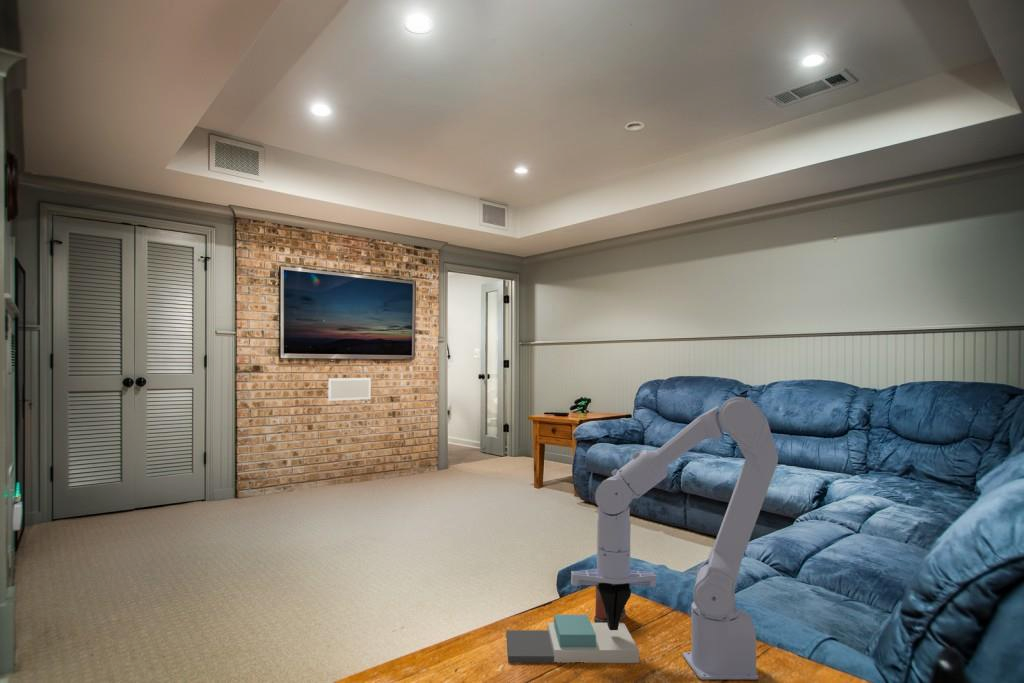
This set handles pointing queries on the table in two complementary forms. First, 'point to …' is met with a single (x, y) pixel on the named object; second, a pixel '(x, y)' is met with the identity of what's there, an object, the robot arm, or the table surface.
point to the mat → (529, 646)
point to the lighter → (602, 609)
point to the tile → (574, 631)
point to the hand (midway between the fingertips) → (612, 627)
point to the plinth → (598, 646)
